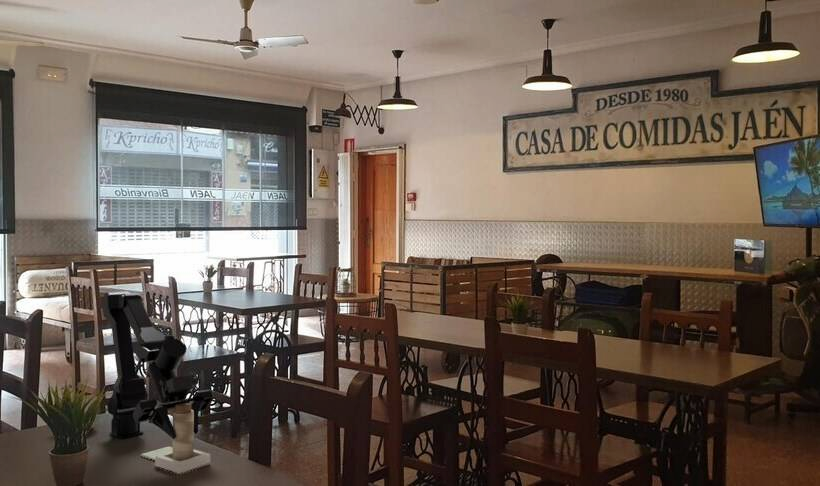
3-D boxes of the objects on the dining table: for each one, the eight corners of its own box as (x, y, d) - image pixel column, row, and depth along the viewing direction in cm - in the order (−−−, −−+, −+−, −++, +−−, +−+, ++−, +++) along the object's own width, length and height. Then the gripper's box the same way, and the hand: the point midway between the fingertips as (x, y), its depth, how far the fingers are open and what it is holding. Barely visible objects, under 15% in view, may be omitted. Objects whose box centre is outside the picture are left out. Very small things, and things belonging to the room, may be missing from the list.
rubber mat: (168, 448, 187) (168, 446, 187) (188, 455, 182) (188, 452, 182) (141, 456, 180) (141, 454, 180) (160, 463, 176) (160, 460, 176)
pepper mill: (184, 461, 178) (185, 401, 177) (197, 465, 175) (198, 404, 174) (168, 466, 174) (168, 405, 173) (180, 470, 171) (181, 408, 170)
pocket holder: (186, 456, 181) (186, 447, 180) (210, 464, 175) (210, 454, 175) (155, 466, 173) (155, 456, 173) (178, 474, 168) (178, 464, 168)
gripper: (138, 366, 170) (159, 424, 162) (211, 357, 183) (233, 409, 175) (124, 394, 176) (143, 450, 168) (195, 383, 189) (216, 435, 181)
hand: (185, 435), depth 173 cm, fingers open, 5 cm apart
